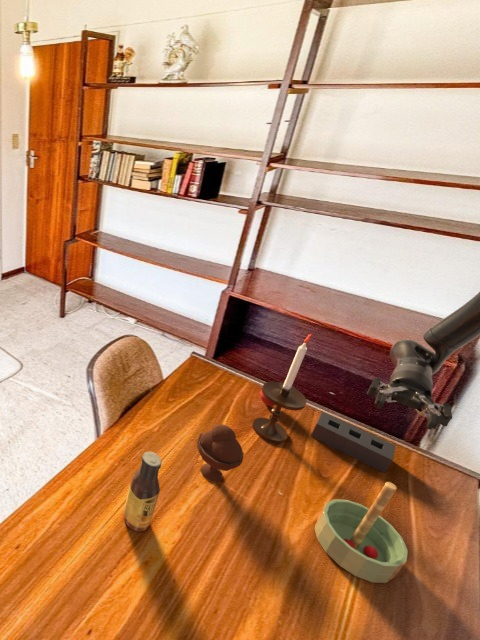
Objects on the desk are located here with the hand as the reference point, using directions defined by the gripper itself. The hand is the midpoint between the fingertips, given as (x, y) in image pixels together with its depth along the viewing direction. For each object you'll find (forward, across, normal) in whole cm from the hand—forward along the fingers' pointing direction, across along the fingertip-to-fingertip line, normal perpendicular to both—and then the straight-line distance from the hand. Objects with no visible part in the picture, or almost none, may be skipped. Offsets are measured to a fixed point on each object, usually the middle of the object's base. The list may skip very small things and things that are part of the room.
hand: (405, 415), depth 88 cm
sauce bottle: (+46, -36, +28) cm, 65 cm away
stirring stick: (+16, +1, +27) cm, 32 cm away
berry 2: (+16, +4, +26) cm, 31 cm away
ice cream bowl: (+20, -29, +28) cm, 45 cm away
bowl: (+16, +1, +28) cm, 32 cm away
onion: (-20, -27, +27) cm, 43 cm away
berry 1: (+18, 0, +26) cm, 32 cm away
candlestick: (-8, -23, +28) cm, 36 cm away
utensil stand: (-19, -5, +27) cm, 33 cm away
